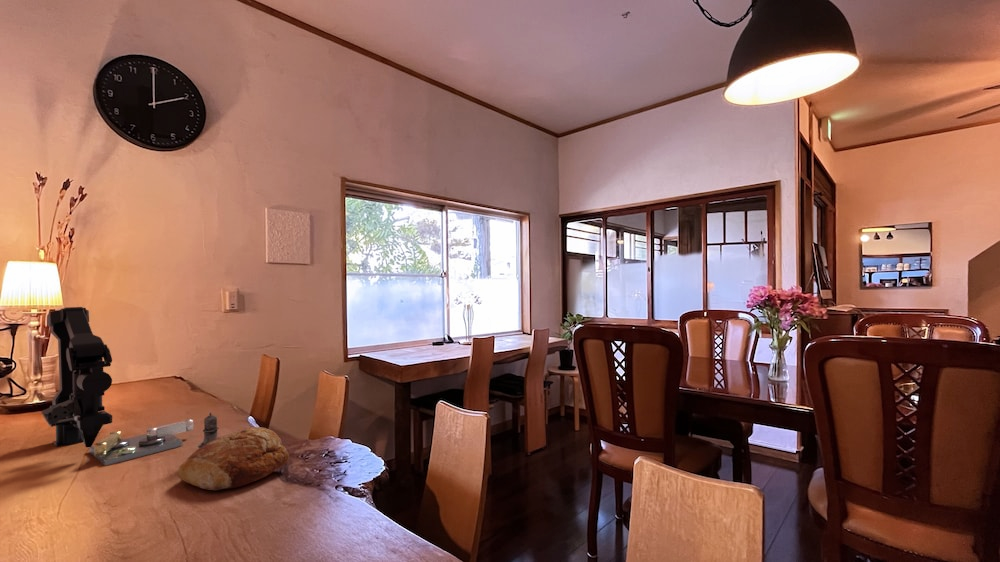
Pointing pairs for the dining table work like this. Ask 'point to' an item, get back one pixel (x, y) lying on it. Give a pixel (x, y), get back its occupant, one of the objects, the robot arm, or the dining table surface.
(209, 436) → the salt shaker
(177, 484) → the dining table surface
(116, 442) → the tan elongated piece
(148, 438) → the silver lever handle
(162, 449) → the plate
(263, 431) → the bread
